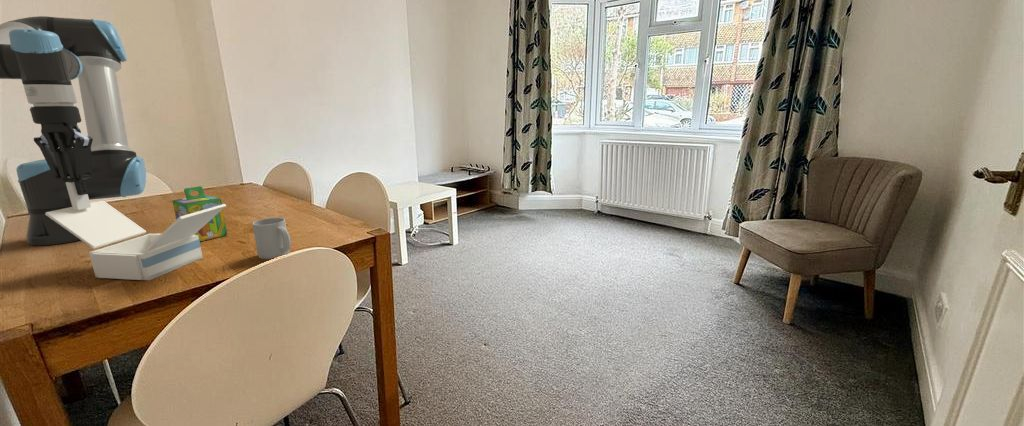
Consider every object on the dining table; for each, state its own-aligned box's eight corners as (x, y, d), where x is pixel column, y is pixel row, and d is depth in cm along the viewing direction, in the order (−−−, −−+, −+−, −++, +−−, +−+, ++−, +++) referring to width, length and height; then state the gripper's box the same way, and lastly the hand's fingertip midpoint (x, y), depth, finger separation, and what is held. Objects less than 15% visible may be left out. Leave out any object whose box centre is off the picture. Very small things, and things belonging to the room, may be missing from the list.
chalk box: (193, 244, 118) (182, 192, 115) (178, 239, 123) (167, 188, 120) (229, 235, 126) (220, 186, 122) (214, 231, 131) (204, 183, 127)
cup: (277, 248, 114) (272, 216, 112) (303, 253, 110) (299, 220, 108) (251, 257, 108) (245, 223, 105) (278, 262, 103) (273, 227, 101)
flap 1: (93, 248, 95) (45, 214, 95) (145, 233, 107) (102, 202, 106) (94, 246, 95) (45, 212, 95) (146, 231, 107) (103, 200, 106)
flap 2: (144, 249, 93) (179, 216, 90) (192, 233, 105) (224, 203, 101) (146, 251, 93) (181, 219, 90) (193, 234, 105) (226, 205, 101)
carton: (92, 278, 95) (85, 253, 94) (157, 254, 110) (152, 232, 109) (146, 281, 93) (140, 255, 92) (205, 257, 108) (200, 234, 107)
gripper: (8, 105, 92) (40, 211, 98) (58, 104, 90) (88, 213, 96) (49, 105, 99) (77, 204, 105) (96, 104, 97) (122, 205, 103)
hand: (82, 208), depth 100 cm, fingers closed
